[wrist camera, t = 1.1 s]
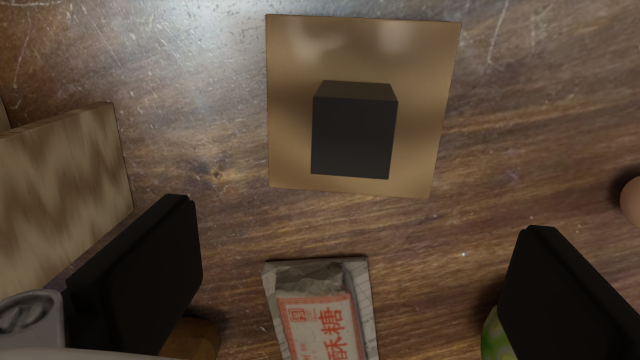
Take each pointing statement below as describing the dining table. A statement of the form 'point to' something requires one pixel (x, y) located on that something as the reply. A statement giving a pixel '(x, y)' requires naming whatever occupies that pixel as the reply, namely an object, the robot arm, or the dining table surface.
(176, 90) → the dining table surface
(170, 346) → the potato
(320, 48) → the tan flat square block
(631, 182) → the egg
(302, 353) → the packaged product
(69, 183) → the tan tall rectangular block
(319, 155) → the block
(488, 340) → the decorative ball
